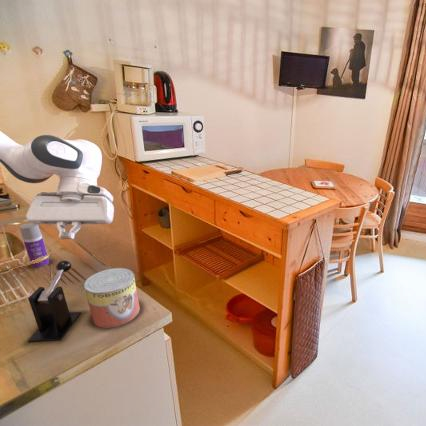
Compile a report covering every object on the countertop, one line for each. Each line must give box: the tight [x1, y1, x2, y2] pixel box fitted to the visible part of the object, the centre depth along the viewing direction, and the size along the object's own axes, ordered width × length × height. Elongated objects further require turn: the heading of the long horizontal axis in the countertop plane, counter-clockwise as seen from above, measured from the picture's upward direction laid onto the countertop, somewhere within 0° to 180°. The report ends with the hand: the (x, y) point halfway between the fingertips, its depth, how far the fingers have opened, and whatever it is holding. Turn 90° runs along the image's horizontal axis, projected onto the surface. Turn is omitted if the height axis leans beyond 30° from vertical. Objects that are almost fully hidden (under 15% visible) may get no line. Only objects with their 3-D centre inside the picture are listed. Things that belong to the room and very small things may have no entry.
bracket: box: [27, 285, 82, 343], centre depth 80 cm, size 10×7×12 cm
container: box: [19, 222, 51, 268], centre depth 104 cm, size 5×5×15 cm
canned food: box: [83, 267, 141, 329], centre depth 86 cm, size 11×11×12 cm
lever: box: [38, 259, 72, 305], centre depth 82 cm, size 12×3×3 cm, turn 10°
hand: (66, 238), depth 86 cm, fingers closed
